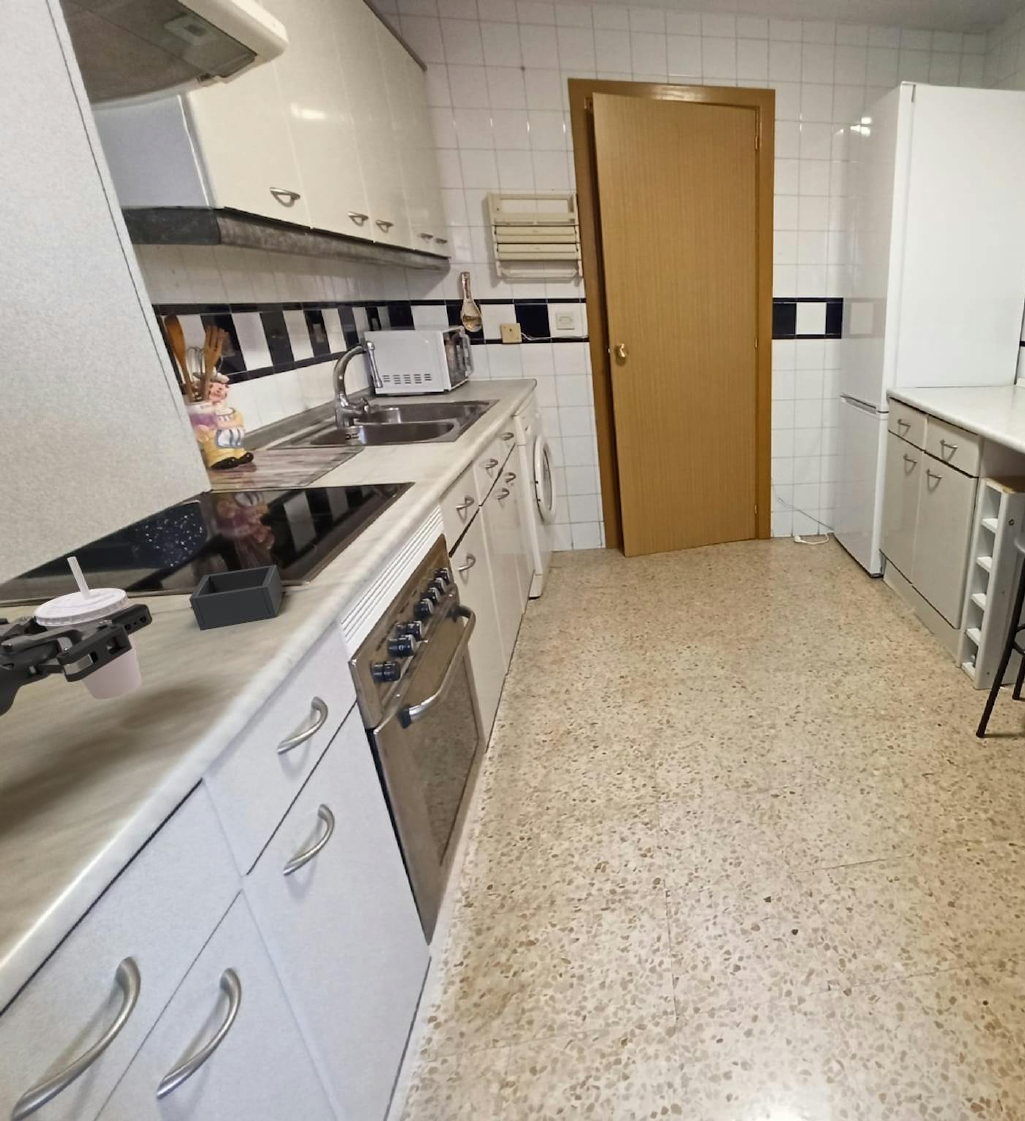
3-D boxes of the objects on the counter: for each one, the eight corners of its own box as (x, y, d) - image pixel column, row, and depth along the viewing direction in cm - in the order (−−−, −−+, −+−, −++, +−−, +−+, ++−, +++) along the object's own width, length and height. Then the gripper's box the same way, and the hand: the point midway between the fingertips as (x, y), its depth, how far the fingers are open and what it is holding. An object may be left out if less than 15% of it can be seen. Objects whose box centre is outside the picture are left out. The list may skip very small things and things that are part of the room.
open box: (200, 630, 85) (188, 598, 83) (214, 604, 92) (203, 575, 90) (276, 617, 89) (267, 586, 87) (284, 593, 96) (276, 564, 94)
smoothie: (154, 693, 64) (103, 563, 59) (65, 714, 61) (2, 578, 56) (162, 664, 69) (115, 542, 64) (80, 682, 66) (23, 555, 60)
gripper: (-34, 672, 47) (170, 579, 63) (-215, 663, 48) (30, 573, 63) (9, 756, 50) (194, 646, 65) (-162, 746, 51) (60, 640, 66)
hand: (113, 610), depth 64 cm, fingers closed on smoothie, 6 cm apart
